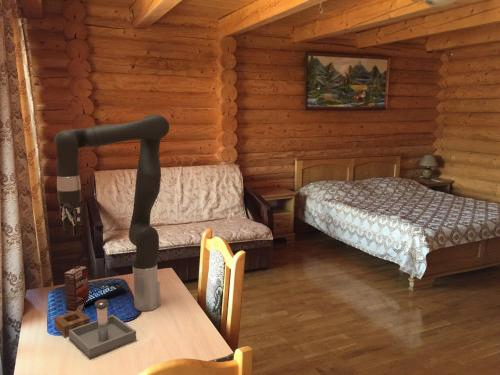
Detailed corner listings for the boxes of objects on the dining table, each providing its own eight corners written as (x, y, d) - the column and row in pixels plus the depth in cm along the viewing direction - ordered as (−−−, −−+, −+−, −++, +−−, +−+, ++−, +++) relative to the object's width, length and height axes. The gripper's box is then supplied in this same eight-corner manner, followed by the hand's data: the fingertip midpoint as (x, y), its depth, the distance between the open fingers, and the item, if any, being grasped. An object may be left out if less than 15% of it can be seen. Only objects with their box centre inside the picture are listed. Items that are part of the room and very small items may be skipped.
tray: (113, 323, 154) (113, 314, 153) (136, 340, 142) (135, 331, 142) (69, 339, 142) (68, 330, 142) (90, 359, 131) (89, 349, 131)
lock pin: (106, 334, 145) (104, 298, 142) (112, 339, 142) (110, 302, 139) (94, 339, 142) (92, 302, 139) (100, 343, 139) (98, 306, 136)
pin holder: (79, 319, 156) (79, 309, 156) (90, 328, 150) (89, 317, 149) (54, 328, 150) (53, 317, 149) (64, 337, 144) (63, 326, 143)
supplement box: (77, 313, 161) (74, 274, 158) (65, 312, 162) (63, 273, 159) (90, 304, 169) (87, 266, 166) (79, 302, 170) (76, 265, 167)
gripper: (88, 189, 145) (91, 235, 148) (71, 184, 155) (74, 227, 158) (66, 192, 140) (69, 239, 143) (50, 187, 150) (53, 231, 153)
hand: (72, 233), depth 151 cm, fingers open, 8 cm apart
